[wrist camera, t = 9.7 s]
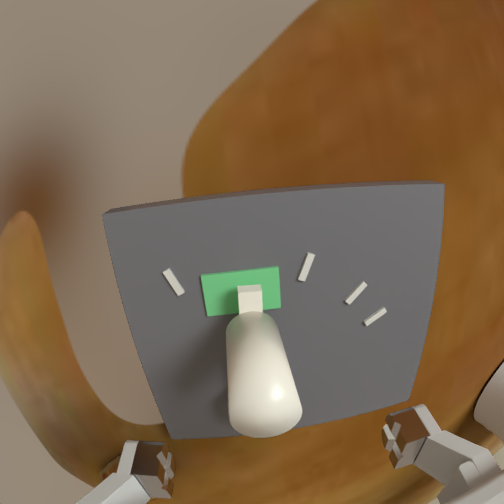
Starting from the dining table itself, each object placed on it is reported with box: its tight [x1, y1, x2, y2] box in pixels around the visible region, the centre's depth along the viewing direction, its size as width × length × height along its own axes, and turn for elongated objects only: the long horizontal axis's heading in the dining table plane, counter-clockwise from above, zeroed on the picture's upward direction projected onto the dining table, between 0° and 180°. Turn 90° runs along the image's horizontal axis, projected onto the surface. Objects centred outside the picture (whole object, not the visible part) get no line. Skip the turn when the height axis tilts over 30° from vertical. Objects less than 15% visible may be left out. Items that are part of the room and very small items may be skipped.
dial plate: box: [102, 180, 445, 439], centre depth 20 cm, size 20×18×2 cm
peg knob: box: [226, 284, 302, 438], centre depth 15 cm, size 10×4×7 cm, turn 3°
